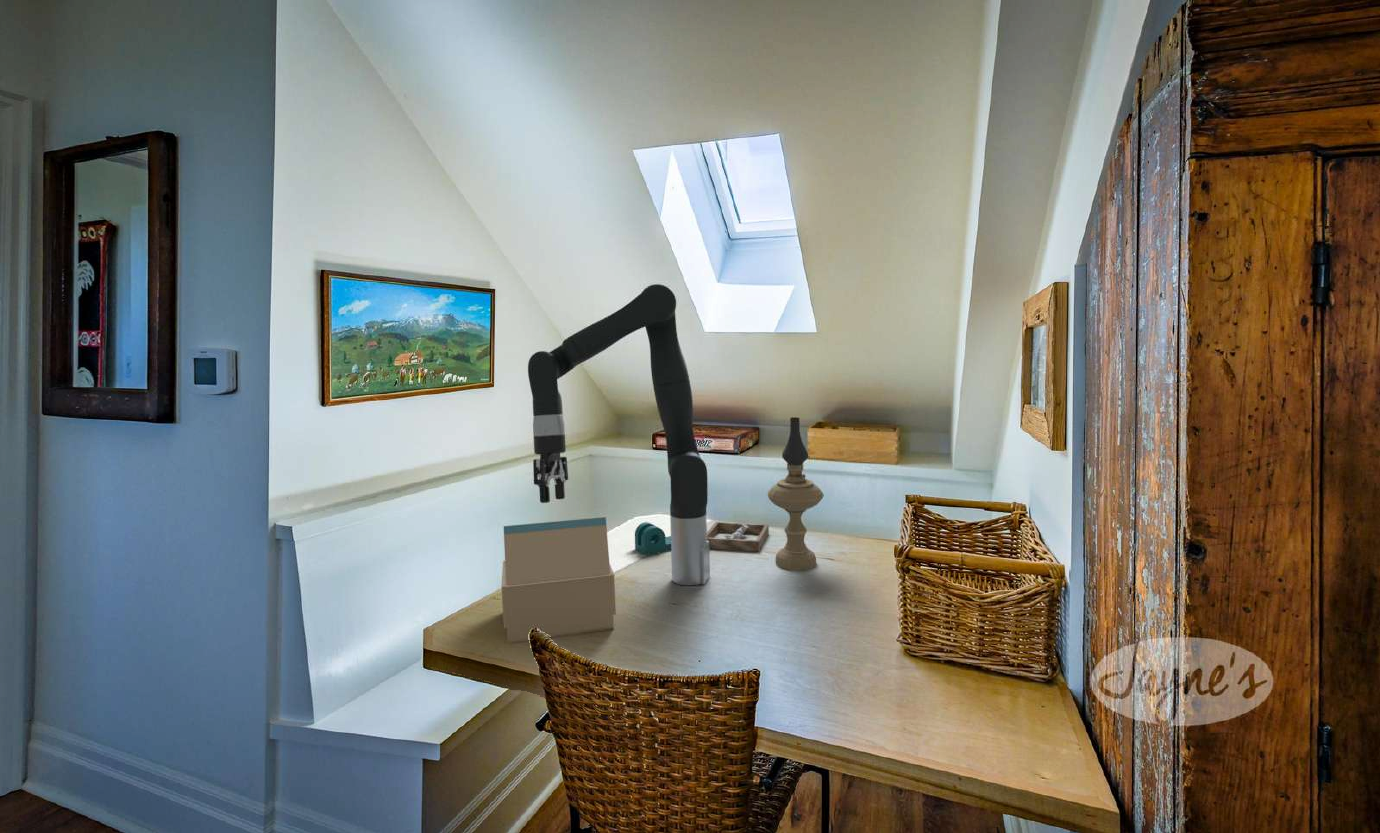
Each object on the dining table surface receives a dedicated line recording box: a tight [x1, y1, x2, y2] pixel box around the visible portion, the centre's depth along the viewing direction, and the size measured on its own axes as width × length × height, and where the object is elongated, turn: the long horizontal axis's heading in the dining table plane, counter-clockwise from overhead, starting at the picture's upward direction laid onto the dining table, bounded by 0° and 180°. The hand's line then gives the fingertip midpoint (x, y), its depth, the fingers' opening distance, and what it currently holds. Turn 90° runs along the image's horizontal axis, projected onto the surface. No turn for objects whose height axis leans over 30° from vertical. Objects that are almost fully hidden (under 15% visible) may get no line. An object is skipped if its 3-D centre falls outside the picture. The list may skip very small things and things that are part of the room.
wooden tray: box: [707, 521, 770, 553], centre depth 204 cm, size 17×18×3 cm
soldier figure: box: [724, 522, 749, 539], centre depth 204 cm, size 8×5×12 cm
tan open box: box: [501, 560, 617, 644], centre depth 149 cm, size 19×23×12 cm
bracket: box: [634, 521, 671, 556], centre depth 199 cm, size 18×7×8 cm, turn 119°
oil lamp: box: [766, 416, 825, 571], centre depth 180 cm, size 15×15×40 cm
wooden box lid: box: [503, 516, 611, 586], centre depth 140 cm, size 12×21×1 cm
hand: (552, 500), depth 162 cm, fingers open, 8 cm apart
